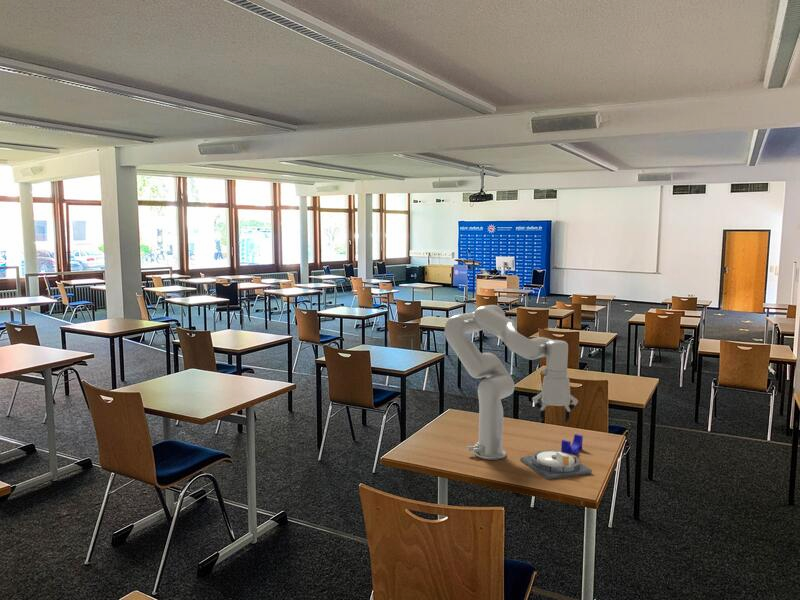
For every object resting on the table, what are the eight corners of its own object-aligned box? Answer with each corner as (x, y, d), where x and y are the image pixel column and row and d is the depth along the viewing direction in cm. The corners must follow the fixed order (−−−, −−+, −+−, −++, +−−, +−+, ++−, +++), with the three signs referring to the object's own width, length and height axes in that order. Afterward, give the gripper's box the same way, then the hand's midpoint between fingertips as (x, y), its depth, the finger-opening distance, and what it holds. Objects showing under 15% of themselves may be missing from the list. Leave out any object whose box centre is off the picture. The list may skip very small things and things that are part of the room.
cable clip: (571, 457, 234) (572, 443, 233) (561, 455, 237) (561, 440, 237) (585, 450, 243) (586, 436, 242) (575, 447, 246) (576, 434, 245)
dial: (529, 457, 228) (530, 445, 227) (560, 454, 232) (561, 442, 232) (550, 471, 214) (550, 458, 214) (582, 467, 219) (582, 454, 218)
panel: (547, 479, 211) (547, 470, 211) (520, 460, 229) (520, 452, 229) (591, 473, 218) (592, 464, 217) (562, 455, 235) (562, 447, 235)
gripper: (533, 375, 212) (531, 422, 213) (582, 377, 210) (580, 425, 212) (531, 370, 219) (529, 416, 221) (578, 372, 217) (576, 418, 219)
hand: (554, 420), depth 216 cm, fingers open, 7 cm apart
